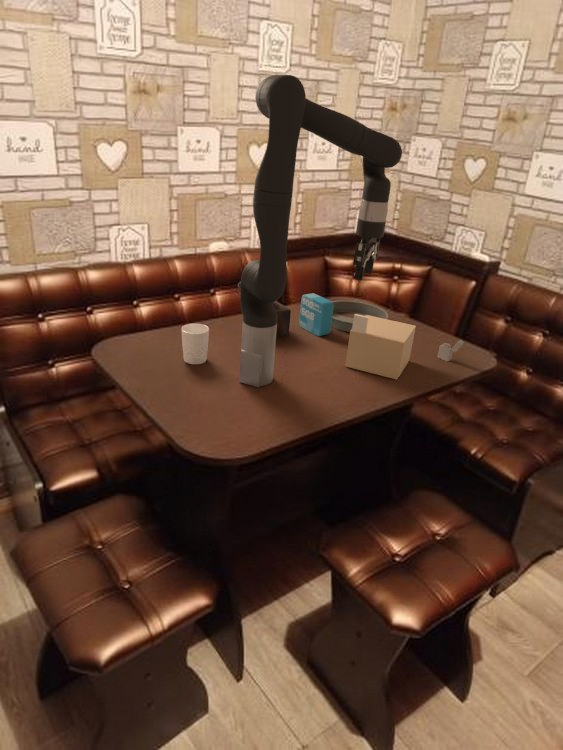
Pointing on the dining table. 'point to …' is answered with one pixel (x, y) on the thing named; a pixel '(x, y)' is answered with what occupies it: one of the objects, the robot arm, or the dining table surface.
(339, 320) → the cake pan
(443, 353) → the lighter
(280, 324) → the pepper mill
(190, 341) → the white cup
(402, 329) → the carton
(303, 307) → the data package
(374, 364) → the beige wooden slab
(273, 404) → the dining table surface
